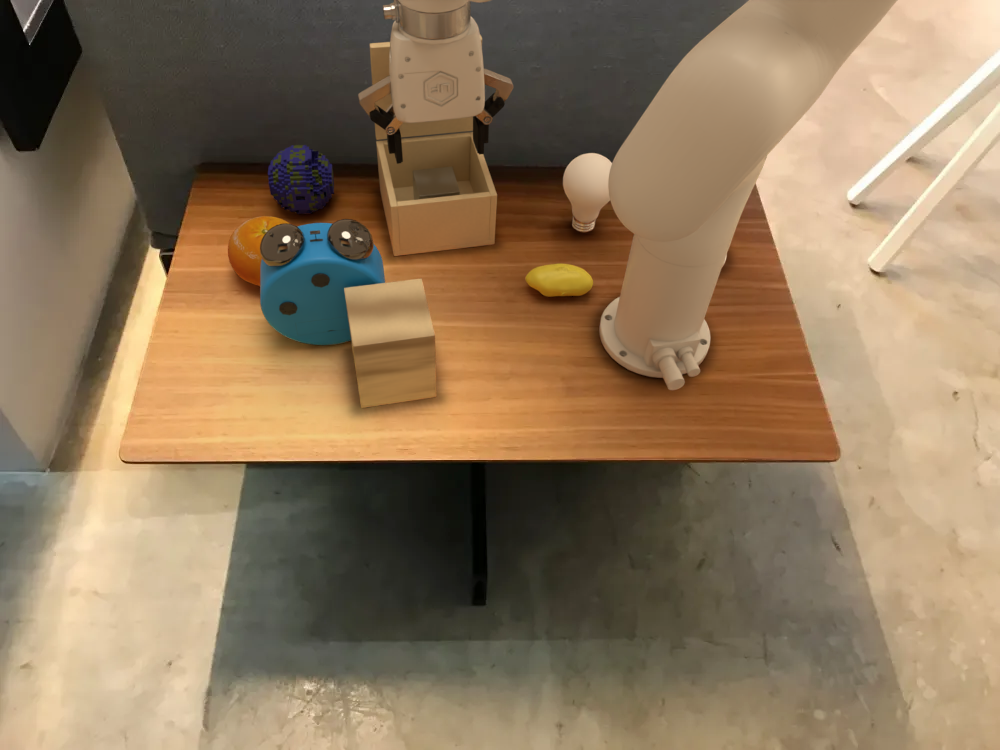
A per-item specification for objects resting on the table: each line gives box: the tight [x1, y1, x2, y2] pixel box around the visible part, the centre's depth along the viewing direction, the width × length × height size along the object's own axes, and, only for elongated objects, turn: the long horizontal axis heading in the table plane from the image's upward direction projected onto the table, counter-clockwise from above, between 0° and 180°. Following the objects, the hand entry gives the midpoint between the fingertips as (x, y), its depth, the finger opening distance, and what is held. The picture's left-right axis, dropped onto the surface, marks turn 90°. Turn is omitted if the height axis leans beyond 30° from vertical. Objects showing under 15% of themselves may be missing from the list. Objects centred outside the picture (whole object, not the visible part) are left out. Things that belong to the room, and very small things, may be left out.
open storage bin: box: [375, 131, 498, 257], centre depth 106 cm, size 13×13×8 cm
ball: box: [267, 144, 335, 215], centre depth 107 cm, size 8×8×8 cm
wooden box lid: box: [369, 34, 483, 141], centre depth 102 cm, size 13×13×5 cm
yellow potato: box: [524, 262, 594, 298], centre depth 100 cm, size 4×8×4 cm, turn 85°
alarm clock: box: [259, 218, 386, 346], centre depth 91 cm, size 13×6×15 cm, turn 100°
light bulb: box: [562, 152, 612, 233], centre depth 105 cm, size 7×7×11 cm
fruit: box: [227, 215, 291, 287], centre depth 99 cm, size 8×8×8 cm
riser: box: [344, 277, 437, 409], centre depth 89 cm, size 8×8×10 cm
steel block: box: [413, 166, 460, 200], centre depth 107 cm, size 5×5×5 cm
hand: (438, 151), depth 101 cm, fingers open, 9 cm apart
